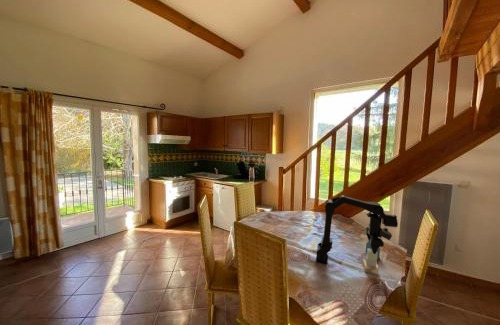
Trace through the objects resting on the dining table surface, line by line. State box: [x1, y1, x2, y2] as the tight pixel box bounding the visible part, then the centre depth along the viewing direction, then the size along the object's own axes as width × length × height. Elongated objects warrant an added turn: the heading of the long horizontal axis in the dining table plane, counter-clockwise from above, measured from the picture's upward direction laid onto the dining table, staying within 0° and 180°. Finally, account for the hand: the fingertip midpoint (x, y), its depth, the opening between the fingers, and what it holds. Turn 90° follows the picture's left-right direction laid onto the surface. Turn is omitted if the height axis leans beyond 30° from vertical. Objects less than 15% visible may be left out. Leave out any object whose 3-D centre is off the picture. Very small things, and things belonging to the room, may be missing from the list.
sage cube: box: [366, 248, 378, 261], centre depth 125 cm, size 4×4×4 cm
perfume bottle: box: [365, 240, 381, 259], centre depth 142 cm, size 6×6×12 cm
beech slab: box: [362, 259, 380, 275], centre depth 127 cm, size 7×7×4 cm
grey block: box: [364, 254, 378, 267], centre depth 126 cm, size 5×5×4 cm
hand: (372, 249), depth 125 cm, fingers open, 9 cm apart
